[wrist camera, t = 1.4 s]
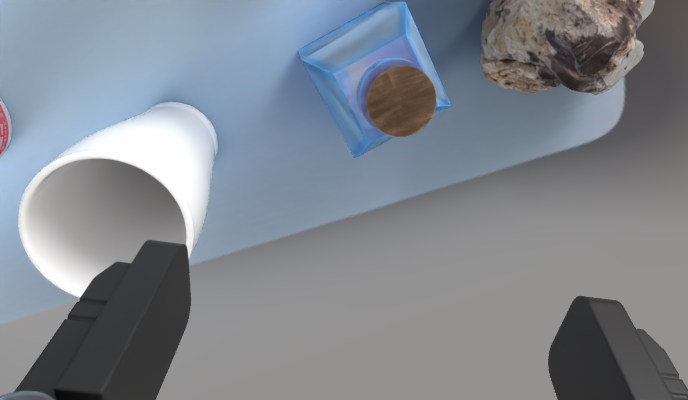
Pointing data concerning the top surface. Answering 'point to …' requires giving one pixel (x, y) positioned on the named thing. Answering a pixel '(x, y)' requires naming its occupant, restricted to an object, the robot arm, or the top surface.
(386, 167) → the top surface
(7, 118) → the pill bottle
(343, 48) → the perfume bottle
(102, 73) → the top surface
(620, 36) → the rock
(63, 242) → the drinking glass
